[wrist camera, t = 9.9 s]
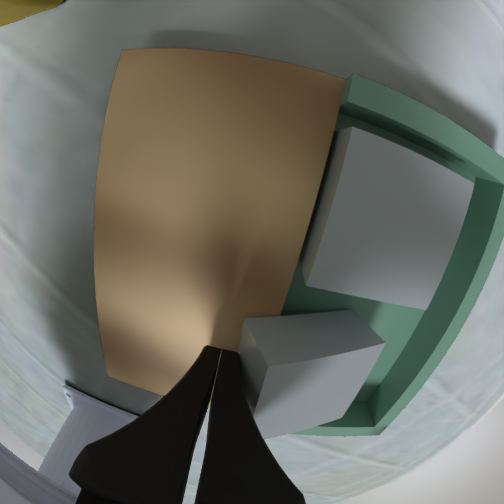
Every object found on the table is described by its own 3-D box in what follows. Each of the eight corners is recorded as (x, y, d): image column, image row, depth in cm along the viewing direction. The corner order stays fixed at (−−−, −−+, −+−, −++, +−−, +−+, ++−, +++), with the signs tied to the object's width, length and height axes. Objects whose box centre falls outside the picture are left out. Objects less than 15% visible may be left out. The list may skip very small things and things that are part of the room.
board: (245, 393, 15) (243, 414, 13) (117, 358, 14) (107, 375, 13) (334, 88, 9) (345, 79, 7) (139, 59, 8) (122, 49, 7)
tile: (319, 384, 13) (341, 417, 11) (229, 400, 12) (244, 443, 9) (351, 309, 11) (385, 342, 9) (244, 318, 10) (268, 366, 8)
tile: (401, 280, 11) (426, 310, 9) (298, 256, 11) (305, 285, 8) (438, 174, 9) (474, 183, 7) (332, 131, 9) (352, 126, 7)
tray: (370, 406, 15) (379, 434, 12) (245, 393, 15) (241, 427, 12) (486, 164, 9) (519, 172, 7) (334, 88, 9) (353, 73, 6)
